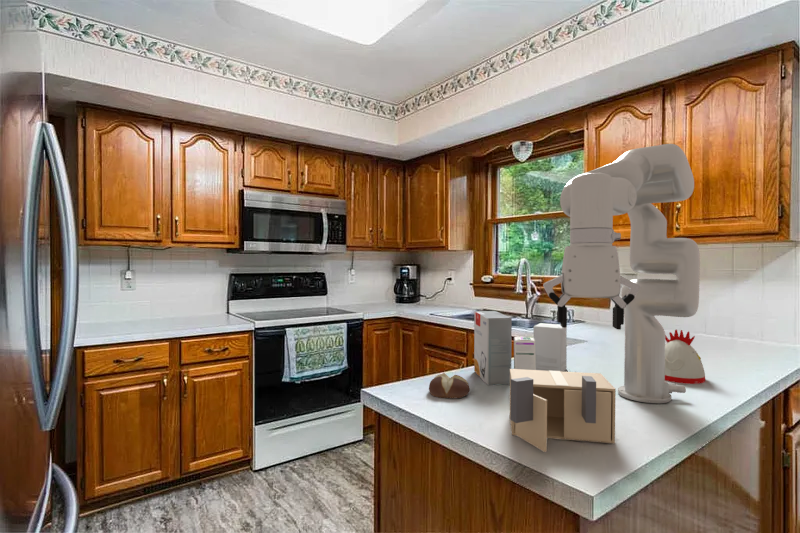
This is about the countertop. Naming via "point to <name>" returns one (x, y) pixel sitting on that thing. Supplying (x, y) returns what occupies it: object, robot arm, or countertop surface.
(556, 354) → the supplement box
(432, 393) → the bread
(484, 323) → the hard drive box
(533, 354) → the syrup box
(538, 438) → the flap left
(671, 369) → the kitchen timer
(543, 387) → the carton
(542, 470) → the countertop surface
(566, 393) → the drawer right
